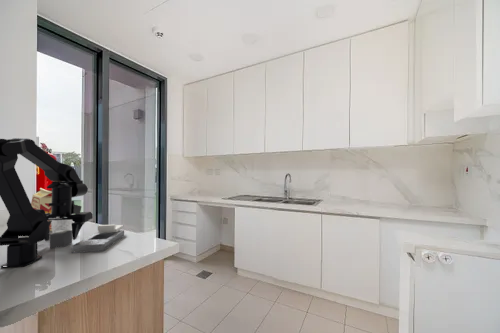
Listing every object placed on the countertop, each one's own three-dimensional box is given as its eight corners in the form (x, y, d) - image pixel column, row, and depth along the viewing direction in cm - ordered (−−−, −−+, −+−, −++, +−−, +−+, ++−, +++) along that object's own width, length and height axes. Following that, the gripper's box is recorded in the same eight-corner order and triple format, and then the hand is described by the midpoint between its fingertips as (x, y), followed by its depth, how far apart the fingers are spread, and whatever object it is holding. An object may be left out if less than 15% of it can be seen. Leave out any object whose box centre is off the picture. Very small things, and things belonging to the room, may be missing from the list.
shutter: (114, 233, 85) (115, 225, 85) (96, 233, 84) (96, 226, 84) (123, 227, 93) (123, 220, 93) (106, 228, 92) (106, 221, 92)
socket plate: (103, 251, 73) (103, 244, 74) (72, 252, 72) (72, 245, 72) (124, 235, 90) (124, 230, 90) (98, 237, 88) (98, 231, 88)
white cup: (78, 231, 96) (79, 210, 96) (61, 237, 88) (62, 213, 88) (63, 231, 96) (63, 209, 97) (45, 236, 89) (45, 213, 89)
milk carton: (24, 232, 95) (25, 188, 95) (48, 227, 104) (49, 187, 104) (37, 234, 92) (38, 189, 92) (61, 228, 101) (62, 187, 101)
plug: (63, 247, 77) (63, 232, 77) (49, 247, 76) (50, 233, 76) (71, 242, 82) (72, 229, 82) (58, 243, 81) (59, 229, 81)
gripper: (100, 196, 89) (99, 232, 89) (50, 197, 86) (49, 234, 85) (84, 199, 78) (83, 241, 78) (26, 201, 75) (25, 244, 74)
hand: (61, 240), depth 79 cm, fingers open, 9 cm apart
